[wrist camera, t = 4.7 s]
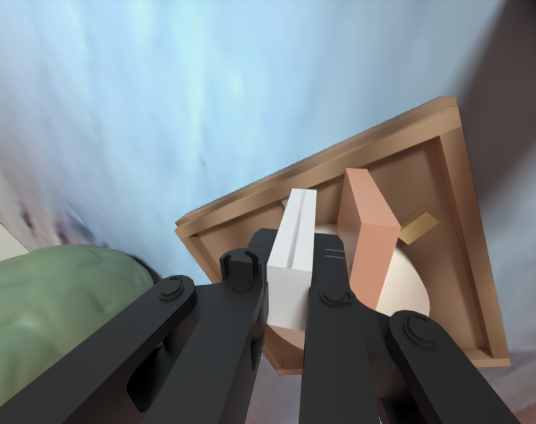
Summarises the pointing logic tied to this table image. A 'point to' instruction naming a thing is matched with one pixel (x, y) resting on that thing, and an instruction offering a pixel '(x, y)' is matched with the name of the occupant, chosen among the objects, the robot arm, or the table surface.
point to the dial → (371, 253)
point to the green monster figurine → (59, 305)
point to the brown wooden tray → (404, 209)
